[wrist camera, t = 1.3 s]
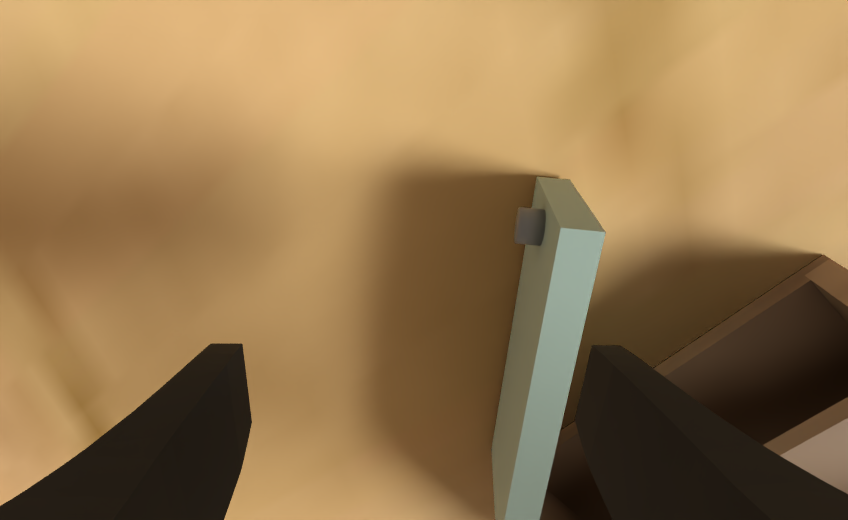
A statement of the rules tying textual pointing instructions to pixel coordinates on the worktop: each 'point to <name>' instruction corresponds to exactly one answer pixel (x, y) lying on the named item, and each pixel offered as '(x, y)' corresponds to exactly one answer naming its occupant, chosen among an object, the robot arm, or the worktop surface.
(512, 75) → the worktop surface
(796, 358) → the cabinet
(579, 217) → the cabinet door
